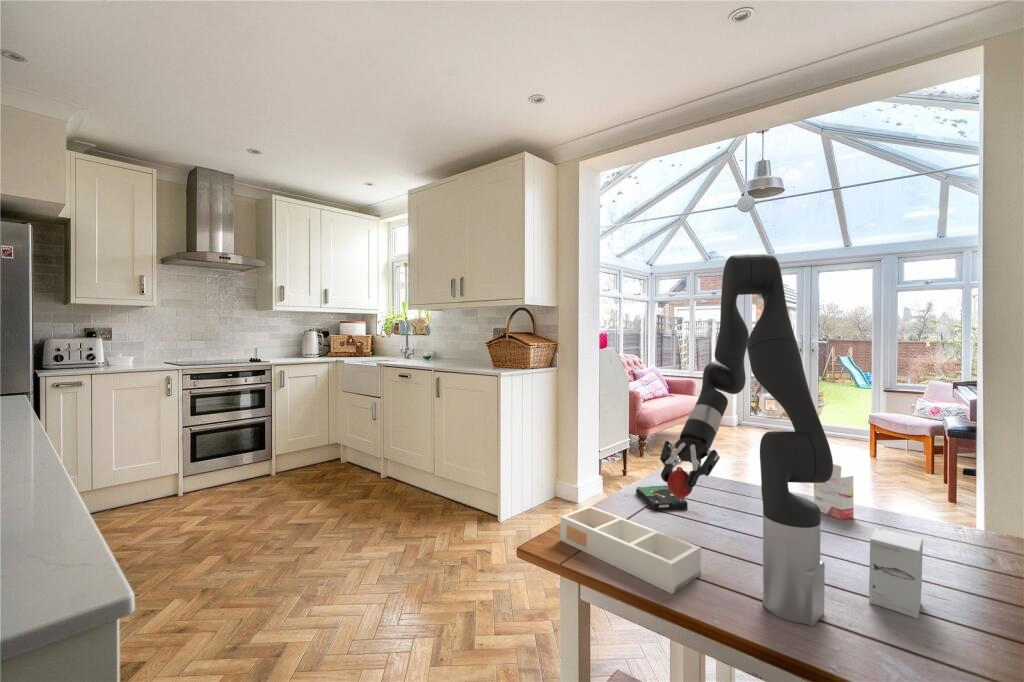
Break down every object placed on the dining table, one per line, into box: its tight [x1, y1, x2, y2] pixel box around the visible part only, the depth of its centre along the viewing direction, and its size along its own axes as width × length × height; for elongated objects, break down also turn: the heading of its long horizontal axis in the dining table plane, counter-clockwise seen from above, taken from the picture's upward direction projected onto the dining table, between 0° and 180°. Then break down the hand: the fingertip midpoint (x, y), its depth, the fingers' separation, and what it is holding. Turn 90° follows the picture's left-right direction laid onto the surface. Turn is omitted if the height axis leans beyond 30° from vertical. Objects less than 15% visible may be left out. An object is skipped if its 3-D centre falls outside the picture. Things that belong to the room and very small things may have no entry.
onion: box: [666, 466, 694, 500], centre depth 112 cm, size 6×6×8 cm
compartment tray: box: [559, 505, 702, 595], centre depth 108 cm, size 31×11×6 cm, turn 39°
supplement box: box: [868, 527, 924, 619], centre depth 88 cm, size 7×7×13 cm
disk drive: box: [635, 485, 689, 512], centre depth 142 cm, size 10×3×15 cm
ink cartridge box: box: [813, 463, 855, 520], centre depth 131 cm, size 9×5×15 cm, turn 17°
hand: (676, 483), depth 111 cm, fingers closed on onion, 5 cm apart
